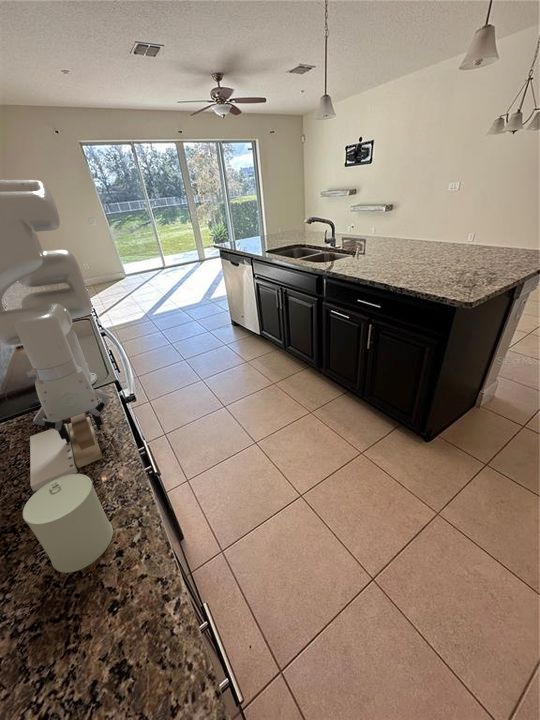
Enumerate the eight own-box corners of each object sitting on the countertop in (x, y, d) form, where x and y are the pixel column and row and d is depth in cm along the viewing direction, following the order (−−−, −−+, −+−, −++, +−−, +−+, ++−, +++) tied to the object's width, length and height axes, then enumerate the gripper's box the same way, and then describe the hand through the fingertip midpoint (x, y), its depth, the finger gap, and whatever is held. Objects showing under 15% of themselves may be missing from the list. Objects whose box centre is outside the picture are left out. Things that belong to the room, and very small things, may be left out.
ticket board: (32, 441, 77) (30, 436, 76) (68, 427, 81) (66, 423, 80) (33, 491, 62) (30, 486, 61) (77, 472, 66) (74, 466, 65)
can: (103, 509, 57) (82, 462, 52) (121, 543, 51) (99, 493, 46) (46, 544, 51) (16, 495, 46) (59, 586, 45) (25, 535, 40)
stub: (69, 428, 80) (61, 408, 77) (90, 420, 83) (82, 401, 80) (78, 468, 67) (67, 445, 64) (102, 457, 69) (93, 435, 67)
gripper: (6, 389, 59) (42, 458, 67) (102, 362, 68) (124, 426, 76) (8, 375, 64) (41, 441, 72) (97, 352, 73) (118, 412, 81)
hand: (83, 433), depth 74 cm, fingers open, 6 cm apart
